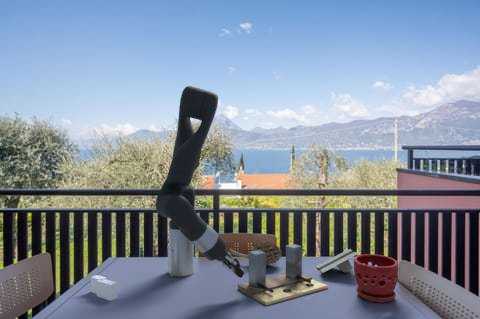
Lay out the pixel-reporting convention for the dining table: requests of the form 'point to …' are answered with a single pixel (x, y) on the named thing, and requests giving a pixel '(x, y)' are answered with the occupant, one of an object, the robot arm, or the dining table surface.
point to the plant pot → (376, 277)
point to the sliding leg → (258, 270)
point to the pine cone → (270, 249)
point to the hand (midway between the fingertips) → (241, 274)
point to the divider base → (289, 278)
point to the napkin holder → (104, 287)
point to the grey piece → (338, 262)
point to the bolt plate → (289, 292)
